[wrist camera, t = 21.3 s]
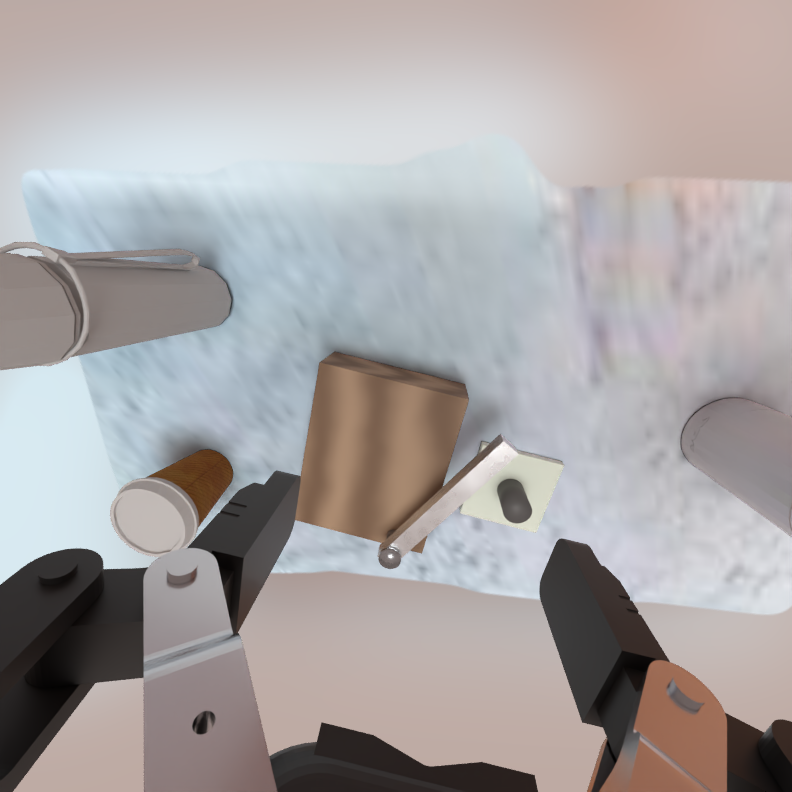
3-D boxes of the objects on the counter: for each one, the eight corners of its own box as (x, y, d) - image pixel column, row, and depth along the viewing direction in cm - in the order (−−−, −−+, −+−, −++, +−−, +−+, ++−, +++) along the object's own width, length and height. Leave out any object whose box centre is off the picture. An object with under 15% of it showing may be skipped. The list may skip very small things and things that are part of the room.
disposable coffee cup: (196, 505, 54) (131, 566, 42) (167, 446, 51) (90, 494, 40) (255, 492, 52) (203, 552, 41) (227, 431, 50) (165, 476, 38)
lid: (560, 459, 46) (577, 484, 41) (533, 525, 50) (545, 557, 44) (481, 439, 47) (487, 461, 41) (459, 506, 50) (462, 535, 44)
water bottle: (222, 341, 46) (-8, 407, 22) (166, 305, 45) (-133, 334, 22) (254, 275, 43) (30, 270, 19) (194, 236, 43) (-112, 181, 19)
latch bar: (516, 447, 38) (521, 457, 36) (393, 557, 43) (390, 572, 41) (499, 432, 37) (502, 441, 35) (377, 545, 43) (374, 559, 41)
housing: (465, 384, 44) (470, 404, 37) (423, 522, 51) (421, 562, 43) (334, 351, 45) (315, 365, 38) (309, 492, 51) (288, 527, 44)
